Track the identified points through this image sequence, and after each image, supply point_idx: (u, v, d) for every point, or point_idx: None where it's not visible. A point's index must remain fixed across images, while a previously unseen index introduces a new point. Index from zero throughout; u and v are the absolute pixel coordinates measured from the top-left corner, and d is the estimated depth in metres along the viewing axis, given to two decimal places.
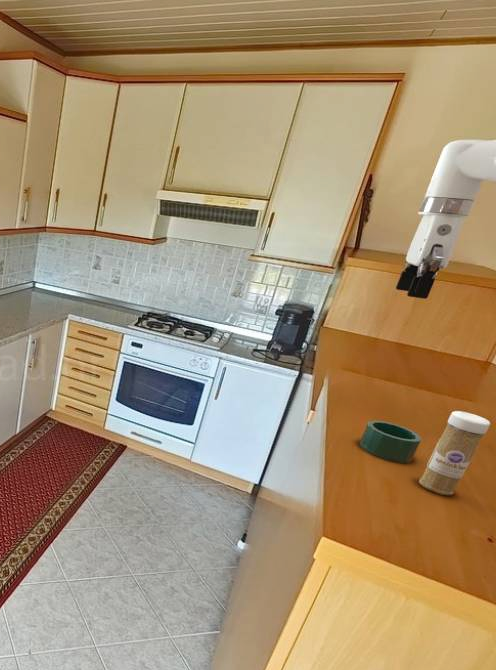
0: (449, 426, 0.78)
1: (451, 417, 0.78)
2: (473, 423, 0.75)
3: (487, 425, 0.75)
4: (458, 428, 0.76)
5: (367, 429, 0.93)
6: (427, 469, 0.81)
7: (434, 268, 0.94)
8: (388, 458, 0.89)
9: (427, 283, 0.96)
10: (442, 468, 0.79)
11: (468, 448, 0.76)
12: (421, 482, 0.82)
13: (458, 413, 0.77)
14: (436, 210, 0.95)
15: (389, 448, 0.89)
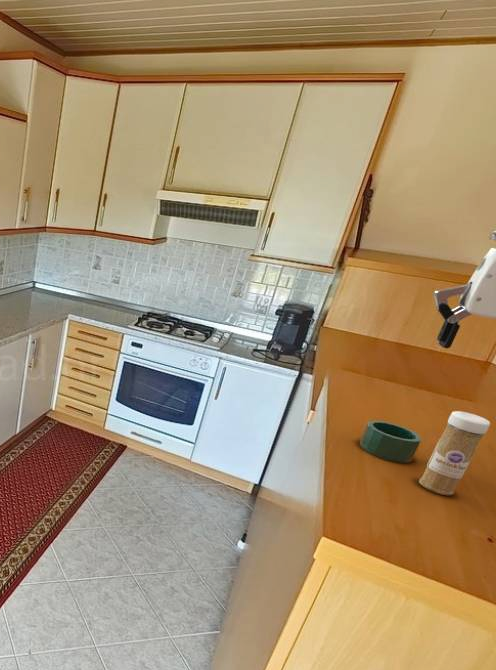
0: (449, 426, 0.78)
1: (451, 417, 0.78)
2: (473, 423, 0.75)
3: (487, 425, 0.75)
4: (458, 428, 0.76)
5: (367, 429, 0.93)
6: (427, 469, 0.81)
7: (437, 305, 0.78)
8: (388, 458, 0.89)
9: (444, 327, 0.78)
10: (442, 468, 0.79)
11: (468, 448, 0.76)
12: (421, 482, 0.82)
13: (458, 413, 0.77)
14: None
15: (389, 448, 0.89)
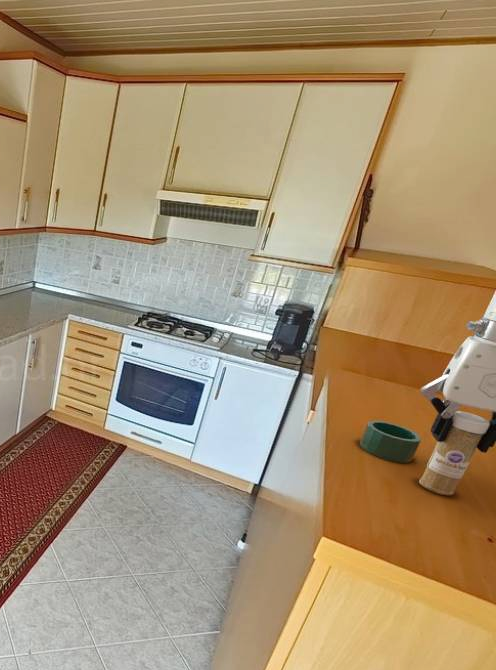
0: None
1: None
2: (473, 423, 0.75)
3: (487, 425, 0.75)
4: (458, 428, 0.76)
5: (367, 429, 0.93)
6: (427, 469, 0.81)
7: (430, 401, 0.78)
8: (388, 458, 0.89)
9: (438, 421, 0.78)
10: (442, 468, 0.79)
11: (467, 448, 0.76)
12: (421, 482, 0.82)
13: (458, 413, 0.77)
14: None
15: (389, 448, 0.89)
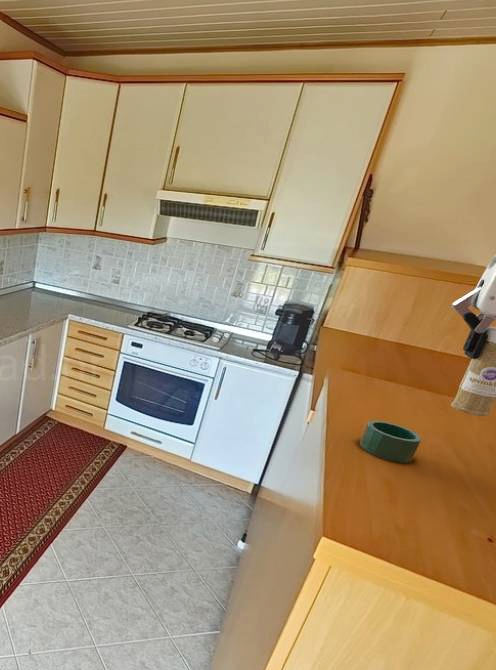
0: None
1: (485, 333, 0.74)
2: None
3: None
4: (493, 342, 0.73)
5: (367, 429, 0.93)
6: (460, 391, 0.77)
7: (462, 317, 0.75)
8: (388, 458, 0.89)
9: (471, 337, 0.75)
10: (477, 387, 0.75)
11: None
12: (453, 405, 0.78)
13: (492, 328, 0.74)
14: None
15: (389, 448, 0.89)
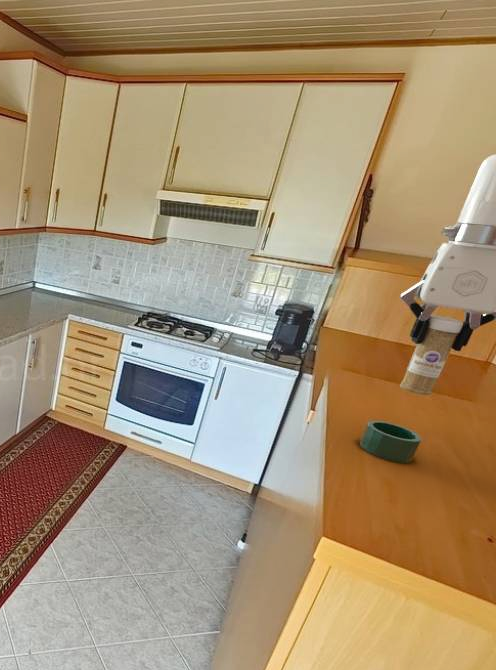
0: None
1: (428, 320, 0.84)
2: (448, 323, 0.81)
3: (460, 324, 0.81)
4: (434, 329, 0.83)
5: (367, 429, 0.93)
6: (407, 372, 0.87)
7: (409, 306, 0.85)
8: (388, 458, 0.89)
9: (416, 324, 0.84)
10: (420, 369, 0.85)
11: (443, 347, 0.82)
12: (401, 385, 0.88)
13: (434, 316, 0.84)
14: None
15: (389, 448, 0.89)
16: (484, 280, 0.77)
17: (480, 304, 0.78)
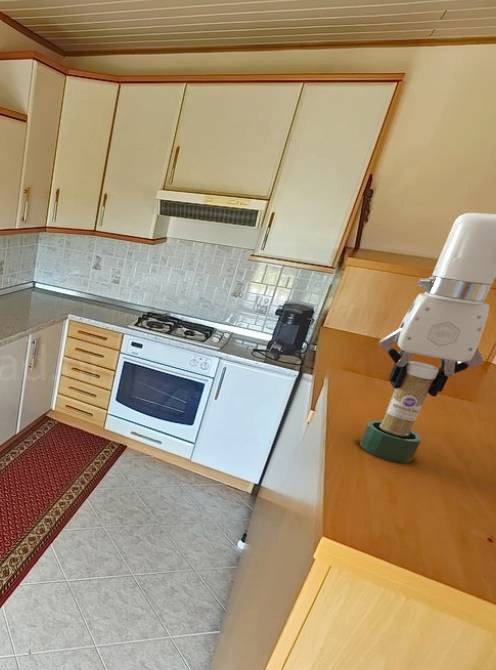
0: None
1: None
2: (424, 370, 0.85)
3: (436, 371, 0.85)
4: (411, 375, 0.86)
5: (367, 429, 0.93)
6: (386, 414, 0.91)
7: (387, 352, 0.88)
8: (388, 458, 0.89)
9: (394, 370, 0.88)
10: (398, 412, 0.88)
11: (419, 392, 0.86)
12: (381, 426, 0.91)
13: (411, 362, 0.87)
14: None
15: (389, 448, 0.89)
16: (457, 331, 0.81)
17: (454, 354, 0.82)
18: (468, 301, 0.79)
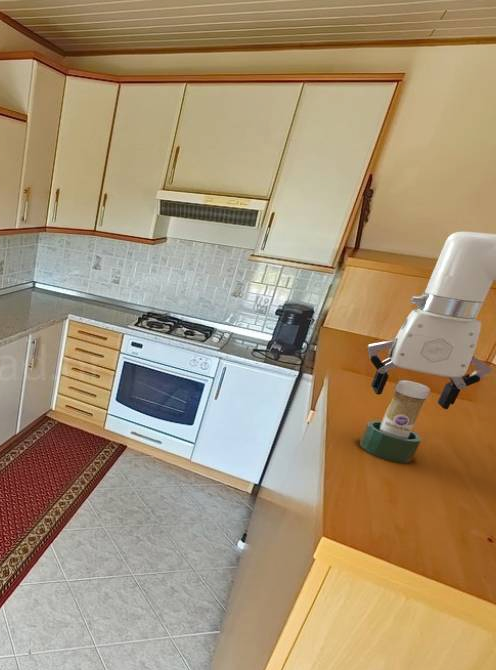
0: (396, 393, 0.89)
1: (397, 385, 0.89)
2: (416, 389, 0.86)
3: (427, 391, 0.86)
4: (403, 394, 0.87)
5: (367, 429, 0.93)
6: None
7: (370, 357, 0.90)
8: (388, 458, 0.89)
9: (376, 376, 0.90)
10: (391, 430, 0.90)
11: (411, 411, 0.87)
12: None
13: (404, 382, 0.88)
14: None
15: (389, 448, 0.89)
16: (450, 348, 0.82)
17: (447, 370, 0.83)
18: (460, 319, 0.80)
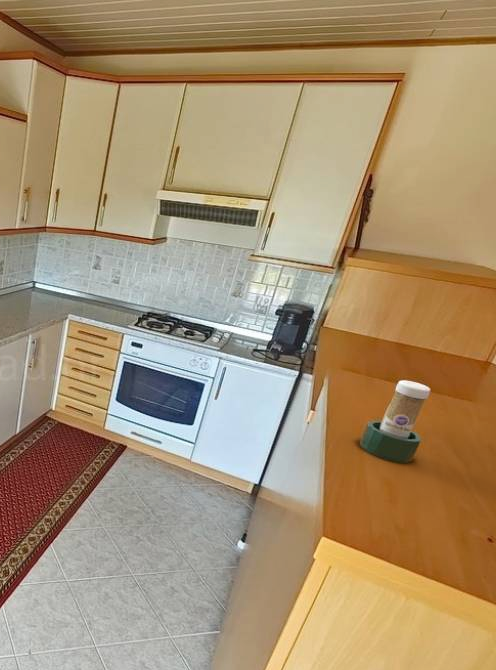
0: (396, 393, 0.89)
1: (397, 385, 0.89)
2: (416, 389, 0.86)
3: (427, 391, 0.86)
4: (403, 394, 0.87)
5: (367, 429, 0.93)
6: None
7: None
8: (388, 458, 0.89)
9: None
10: (391, 430, 0.90)
11: (411, 411, 0.87)
12: None
13: (404, 382, 0.88)
14: None
15: (389, 448, 0.89)
16: None
17: None
18: None
